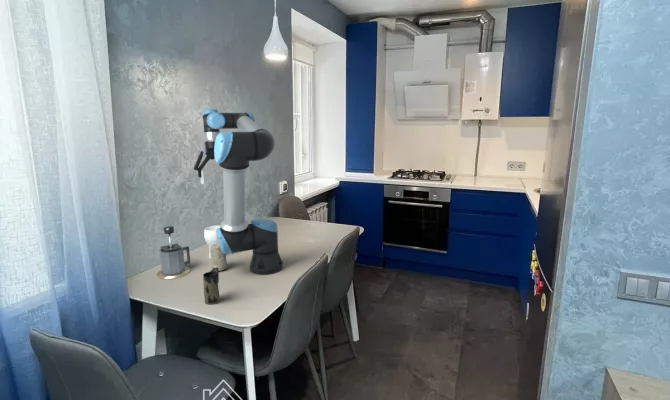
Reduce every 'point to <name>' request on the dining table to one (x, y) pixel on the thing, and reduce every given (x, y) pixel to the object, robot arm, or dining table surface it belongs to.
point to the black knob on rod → (169, 233)
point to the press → (173, 262)
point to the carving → (218, 257)
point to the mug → (211, 286)
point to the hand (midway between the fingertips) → (215, 182)
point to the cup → (211, 236)
